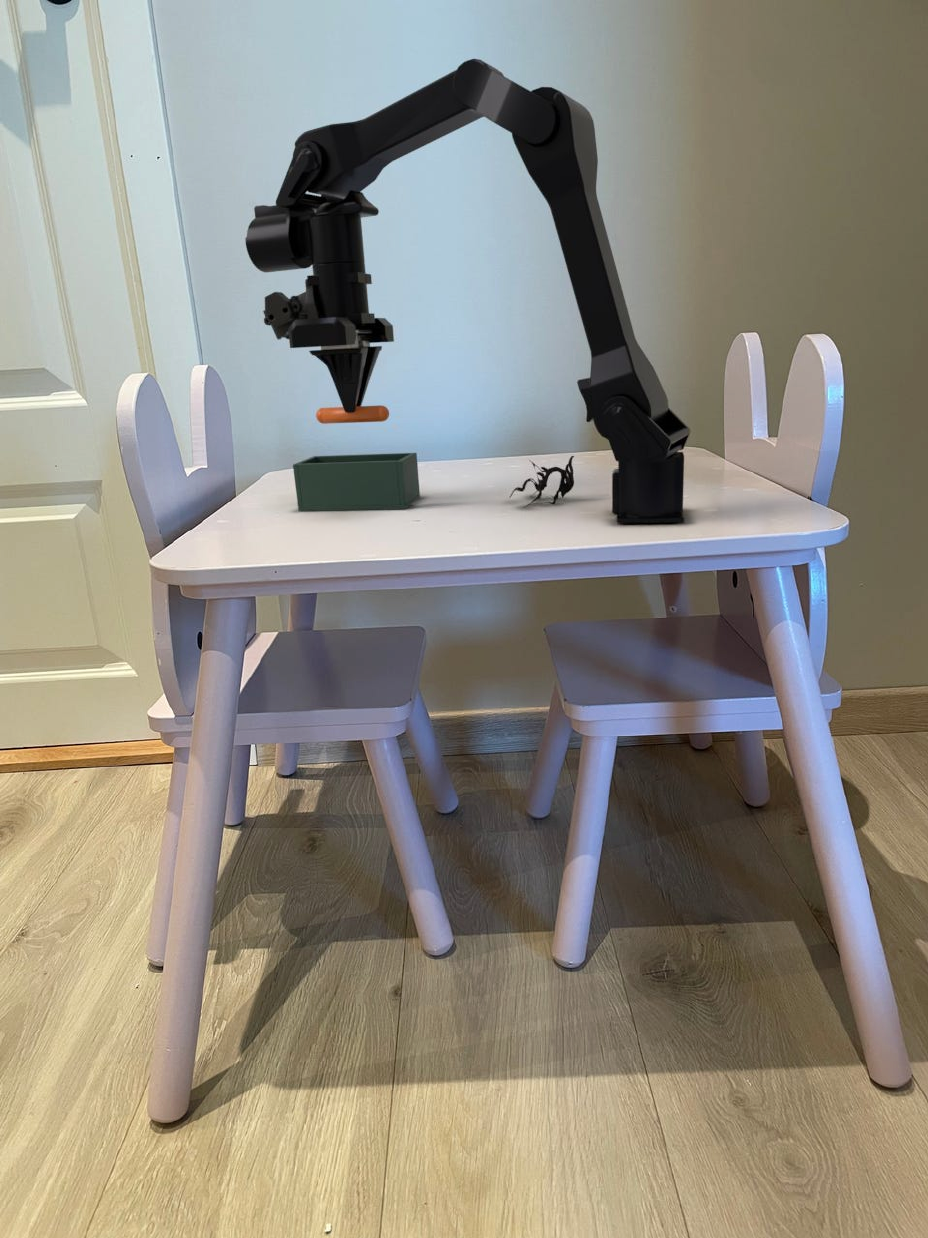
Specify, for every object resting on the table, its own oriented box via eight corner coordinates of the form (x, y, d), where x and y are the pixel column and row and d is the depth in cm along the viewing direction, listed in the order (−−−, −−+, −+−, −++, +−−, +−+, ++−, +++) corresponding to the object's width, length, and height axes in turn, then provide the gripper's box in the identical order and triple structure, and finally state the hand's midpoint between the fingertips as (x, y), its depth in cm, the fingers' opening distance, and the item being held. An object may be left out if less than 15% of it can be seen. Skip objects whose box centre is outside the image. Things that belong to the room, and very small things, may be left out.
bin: (420, 497, 101) (416, 452, 100) (405, 509, 95) (401, 461, 93) (318, 500, 104) (313, 456, 102) (298, 511, 98) (292, 464, 96)
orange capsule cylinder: (392, 415, 96) (389, 401, 95) (388, 424, 95) (385, 410, 93) (320, 418, 98) (316, 404, 96) (316, 426, 96) (312, 413, 95)
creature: (508, 519, 92) (578, 502, 90) (495, 472, 90) (566, 453, 88) (518, 505, 99) (583, 488, 97) (506, 461, 98) (572, 443, 95)
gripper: (301, 274, 101) (316, 406, 106) (231, 264, 83) (252, 422, 88) (389, 268, 98) (399, 403, 103) (336, 256, 81) (351, 419, 86)
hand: (352, 411), depth 95 cm, fingers closed on orange capsule cylinder, 1 cm apart
